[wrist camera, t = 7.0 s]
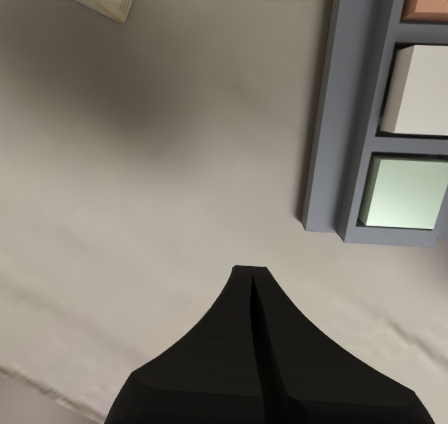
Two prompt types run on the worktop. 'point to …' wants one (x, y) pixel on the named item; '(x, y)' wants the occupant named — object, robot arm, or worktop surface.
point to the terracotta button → (425, 11)
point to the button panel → (365, 121)
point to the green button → (403, 191)
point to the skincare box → (110, 8)
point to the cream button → (418, 92)
